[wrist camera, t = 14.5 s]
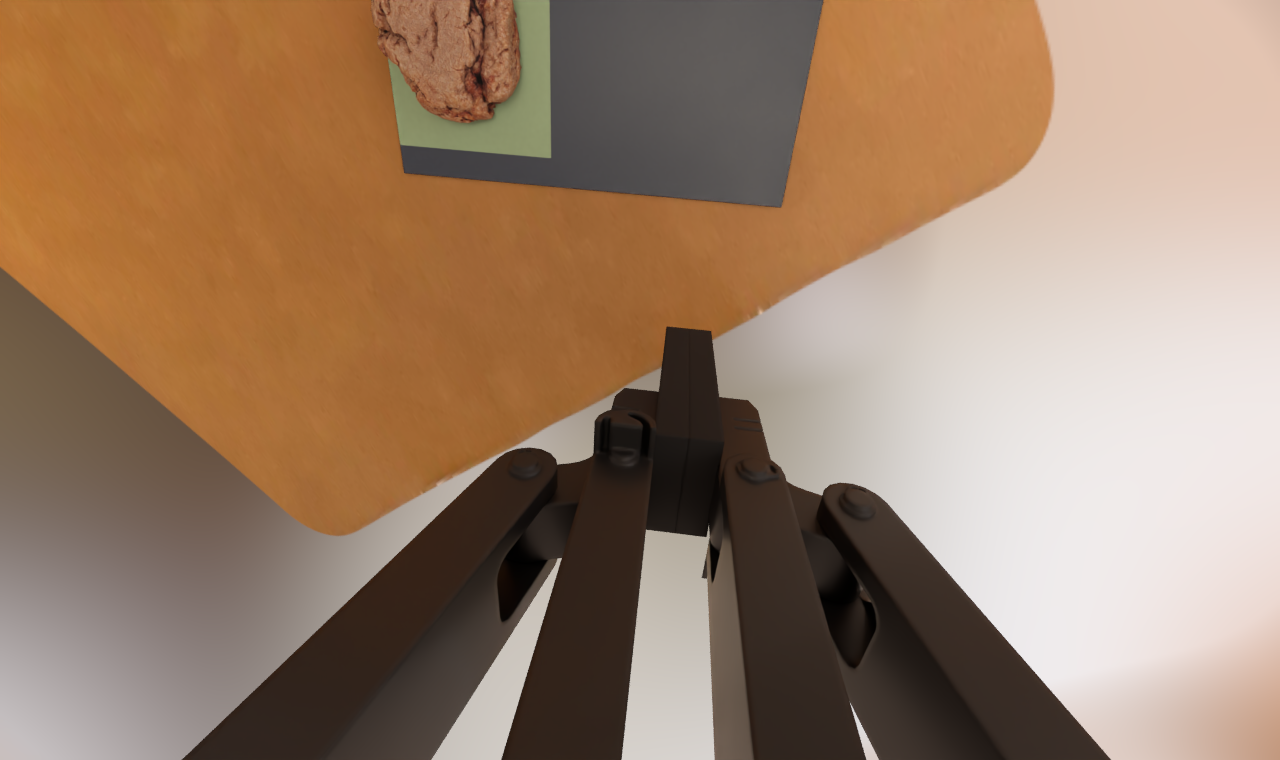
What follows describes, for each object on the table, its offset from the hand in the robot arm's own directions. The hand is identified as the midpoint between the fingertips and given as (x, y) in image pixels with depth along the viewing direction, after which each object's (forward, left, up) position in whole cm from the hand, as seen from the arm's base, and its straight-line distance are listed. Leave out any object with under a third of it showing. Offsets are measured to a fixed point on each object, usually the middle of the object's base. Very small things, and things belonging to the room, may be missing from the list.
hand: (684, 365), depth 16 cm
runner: (-12, -8, -25) cm, 28 cm away
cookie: (-12, -18, -25) cm, 33 cm away
